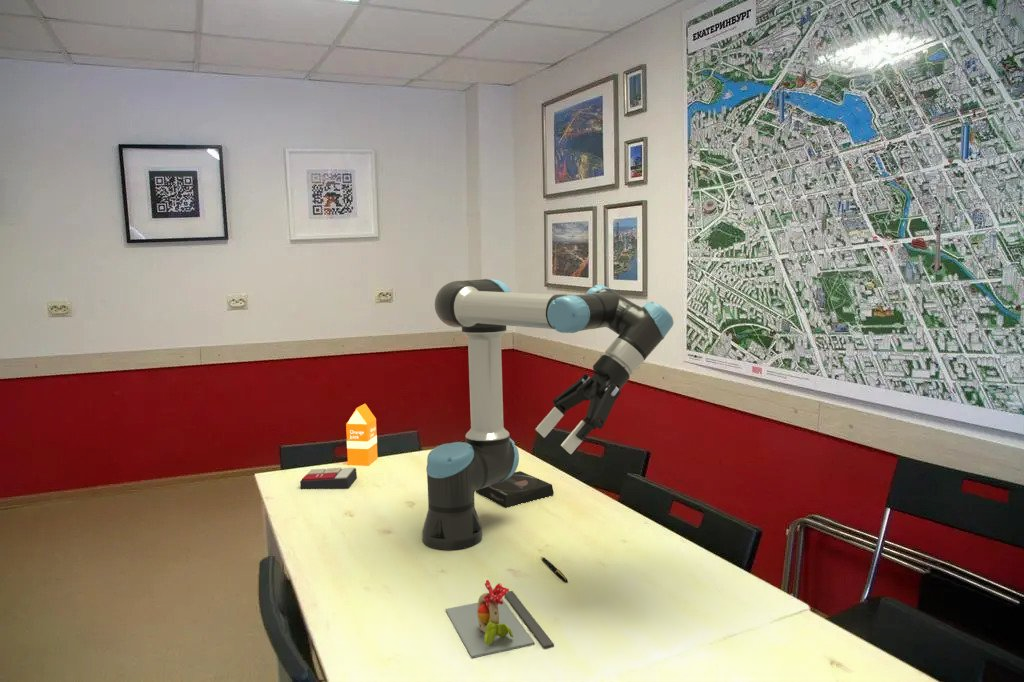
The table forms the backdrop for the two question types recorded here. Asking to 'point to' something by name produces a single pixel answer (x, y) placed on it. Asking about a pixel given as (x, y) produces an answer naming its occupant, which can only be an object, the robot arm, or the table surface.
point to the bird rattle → (492, 613)
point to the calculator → (329, 478)
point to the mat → (474, 638)
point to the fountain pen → (555, 570)
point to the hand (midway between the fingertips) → (552, 441)
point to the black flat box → (517, 490)
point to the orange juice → (361, 437)
